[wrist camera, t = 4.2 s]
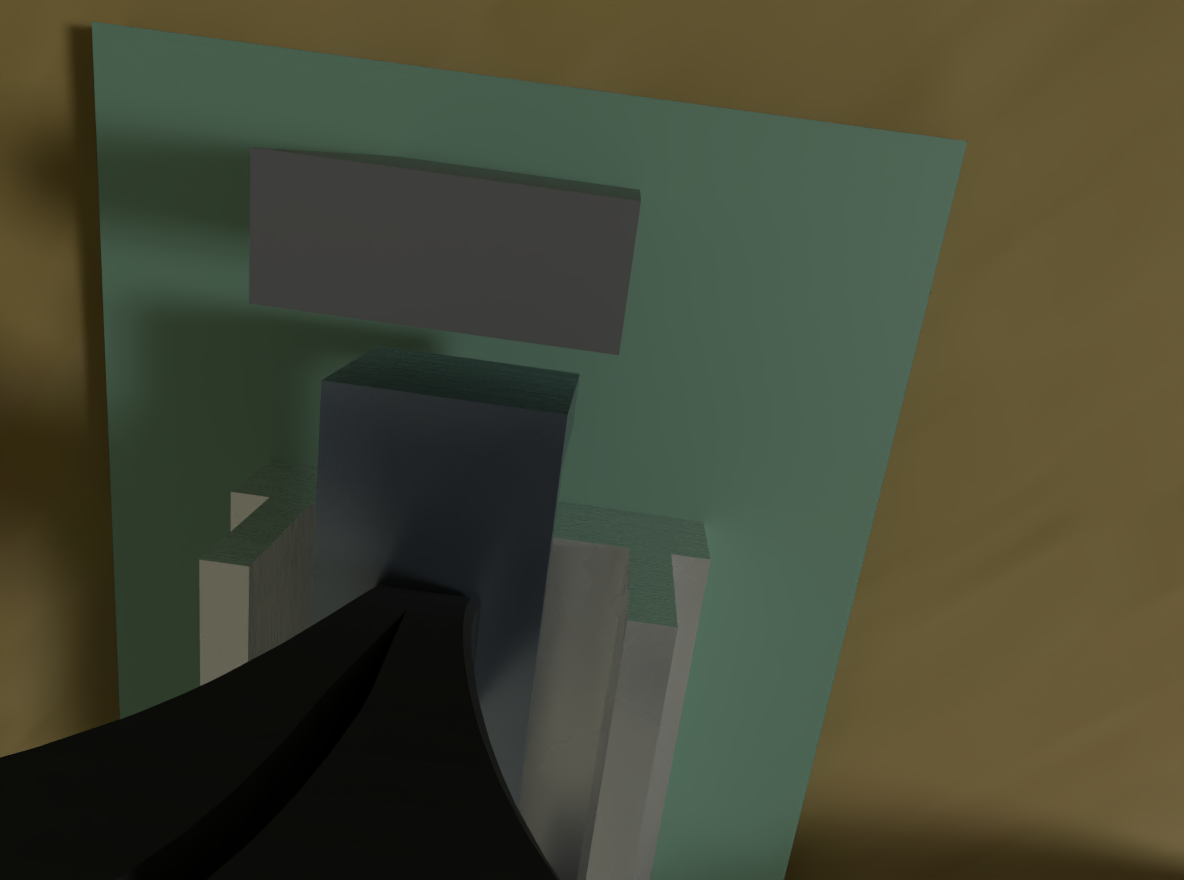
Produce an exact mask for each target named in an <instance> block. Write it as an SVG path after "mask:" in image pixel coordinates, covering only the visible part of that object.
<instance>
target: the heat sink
mask: <svg viewBox="0 0 1184 880" xmlns="http://www.w3.org/2000/svg"><path fill="white" fill-rule="evenodd" d="M316 491H317V467H310V466H303V465H296V464H289V463H282V462H275V461H269V462H268V463H267V464H265V465H264V466H263V467H262V468H260V469H259V470H258V471H257V472H255V473H254V474H253V475H251V476H250V477H249V478H248V479H246V480H245V481H244V482H243V483H241V484H240V485H239V486H237V487H236V488H235V489H234V490H232V491H231V532H230V533H229V534H228V535H226V536H225V537H224V538H223V539H222V540H221V541H220V542H218V543H217V544H216V545H215V546H214V547H213V548H212V549H211V550H209V551H208V552H207V553H206V554H205V555H204V556H203V557H202V558H200V559H199V589H200V686H201V685H203V684H206V683H208V682H210V681H212V680H214V679H216V678H218V677H220V676H222V675H224V674H226V673H228V672H229V671H231V670H233V669H235V668H237V667H239V666H241V665H243V664H244V663H246V662H248V661H250V660H252V659H254V658H256V657H258V656H260V655H261V654H263V653H265V652H267V651H269V650H271V649H273V648H275V647H276V646H278V645H280V644H282V643H284V642H285V641H287V640H289V639H290V638H292V637H294V636H295V635H297V634H299V633H300V632H302V631H304V630H305V629H307V628H309V627H310V626H311V606H312V583H313V560H314V537H315V514H316ZM710 560H711V559H710V554H709V548H708V543H707V538H706V532H705V527H704V522H699V521H692V520H685V519H678V518H671V517H664V516H657V515H650V514H643V513H636V512H628V511H621V510H614V509H607V508H600V507H593V506H586V505H579V504H572V503H565V502H558V509H557V517H556V525H555V532H554V540H553V548H552V556H551V563H550V571H549V579H548V587H547V594H546V602H545V610H544V618H543V625H542V633H541V641H540V649H539V656H538V664H537V672H536V680H535V687H534V695H533V703H532V711H531V718H530V726H529V734H528V742H527V749H526V757H525V765H524V773H523V780H522V788H521V796H520V804H519V811H520V813H521V815H522V817H523V819H524V820H525V822H526V824H527V826H528V828H529V829H530V831H531V833H532V835H533V837H534V838H535V840H536V842H537V844H538V846H539V847H540V849H541V851H542V853H543V855H544V856H545V858H546V859H547V861H548V862H549V864H550V865H551V867H552V868H553V870H554V871H555V873H556V874H557V876H558V877H559V879H560V880H650V877H651V871H652V866H653V861H654V856H655V850H656V845H657V840H658V835H659V829H660V824H661V819H662V813H663V808H664V803H665V798H666V792H667V787H668V782H669V777H670V771H671V766H672V761H673V755H674V750H675V745H676V740H677V734H678V729H679V724H680V719H681V713H682V708H683V703H684V697H685V692H686V687H687V682H688V676H689V671H690V666H691V661H692V655H693V650H694V645H695V639H696V634H697V629H698V624H699V618H700V613H701V608H702V603H703V597H704V592H705V587H706V581H707V576H708V571H709V566H710Z"/></svg>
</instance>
